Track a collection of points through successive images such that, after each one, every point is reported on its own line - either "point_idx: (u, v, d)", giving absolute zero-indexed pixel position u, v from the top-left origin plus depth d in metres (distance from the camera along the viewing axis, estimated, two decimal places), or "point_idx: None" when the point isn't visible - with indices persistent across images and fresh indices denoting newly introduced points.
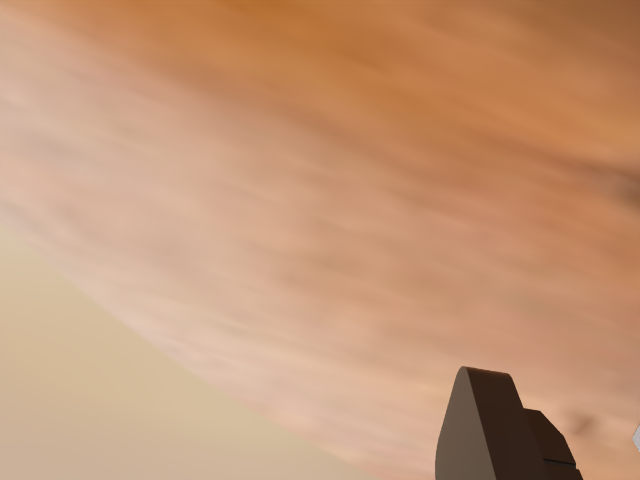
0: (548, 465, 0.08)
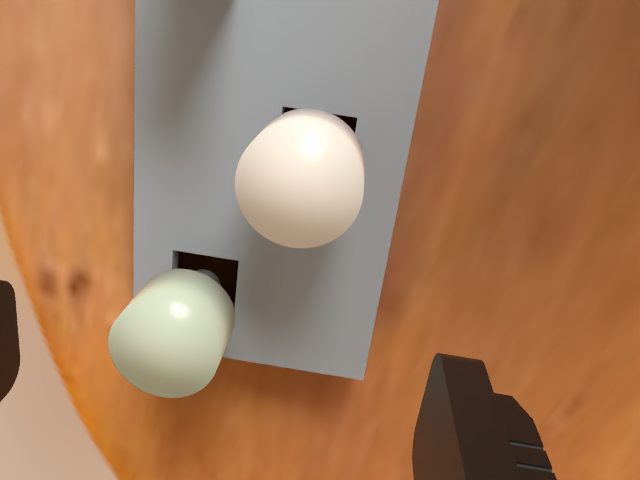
0: (516, 447, 0.08)
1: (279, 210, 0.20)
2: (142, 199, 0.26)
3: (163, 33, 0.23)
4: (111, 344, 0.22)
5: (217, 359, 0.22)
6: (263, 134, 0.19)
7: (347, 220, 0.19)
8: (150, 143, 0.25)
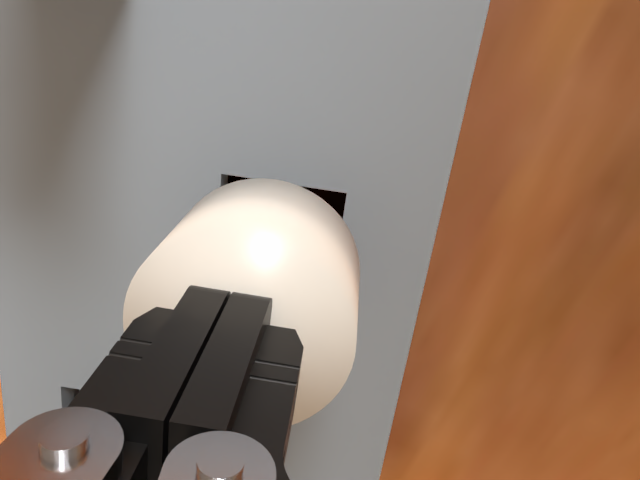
0: (273, 366, 0.09)
1: None
2: (6, 312, 0.16)
3: (13, 52, 0.14)
4: None
5: None
6: (168, 244, 0.10)
7: (327, 390, 0.11)
8: (10, 228, 0.15)
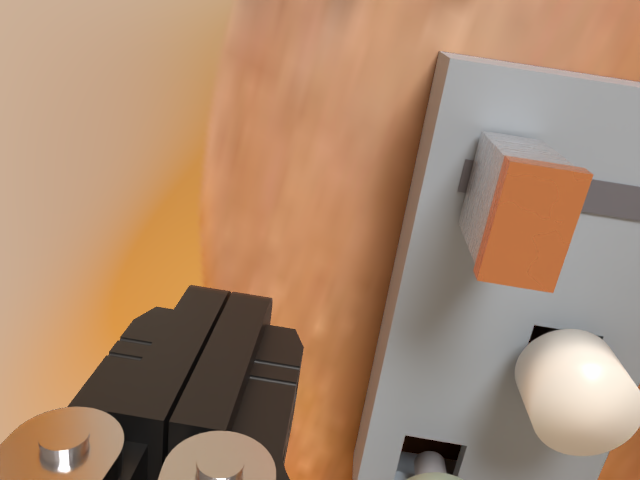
0: (273, 366, 0.09)
1: (566, 428, 0.23)
2: (384, 393, 0.28)
3: (432, 263, 0.25)
4: None
5: None
6: (566, 374, 0.22)
7: (624, 438, 0.23)
8: (402, 349, 0.27)
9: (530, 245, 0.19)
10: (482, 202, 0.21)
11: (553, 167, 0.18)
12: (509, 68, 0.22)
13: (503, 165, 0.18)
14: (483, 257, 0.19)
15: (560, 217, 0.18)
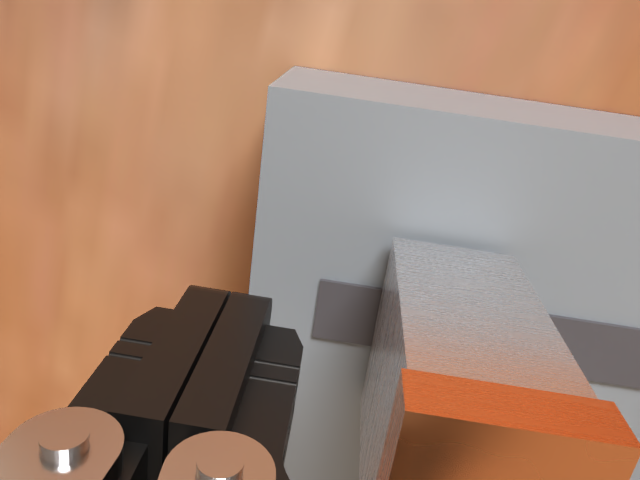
0: (273, 366, 0.09)
1: None
2: None
3: None
4: None
5: None
6: None
7: None
8: None
9: None
10: (377, 421, 0.09)
11: (528, 423, 0.06)
12: (391, 106, 0.11)
13: (397, 396, 0.07)
14: None
15: None
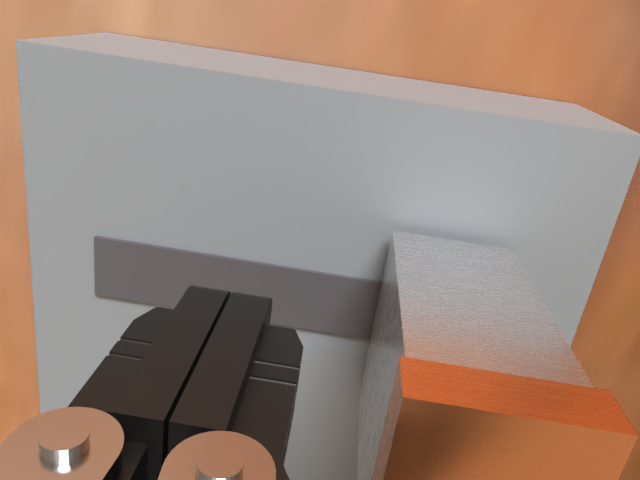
0: (273, 367, 0.09)
1: None
2: None
3: None
4: None
5: None
6: None
7: None
8: None
9: None
10: (376, 412, 0.09)
11: (525, 410, 0.06)
12: (135, 60, 0.11)
13: (395, 384, 0.07)
14: None
15: None
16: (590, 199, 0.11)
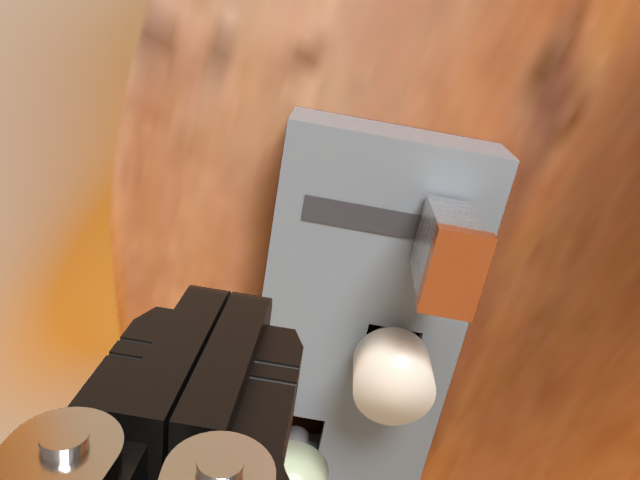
0: (273, 367, 0.09)
1: (380, 403, 0.30)
2: None
3: (286, 274, 0.32)
4: None
5: None
6: (375, 362, 0.29)
7: (423, 411, 0.30)
8: None
9: (454, 288, 0.25)
10: (423, 252, 0.27)
11: (470, 233, 0.25)
12: (332, 127, 0.29)
13: (435, 230, 0.25)
14: (421, 296, 0.26)
15: (475, 268, 0.25)
16: (500, 183, 0.29)
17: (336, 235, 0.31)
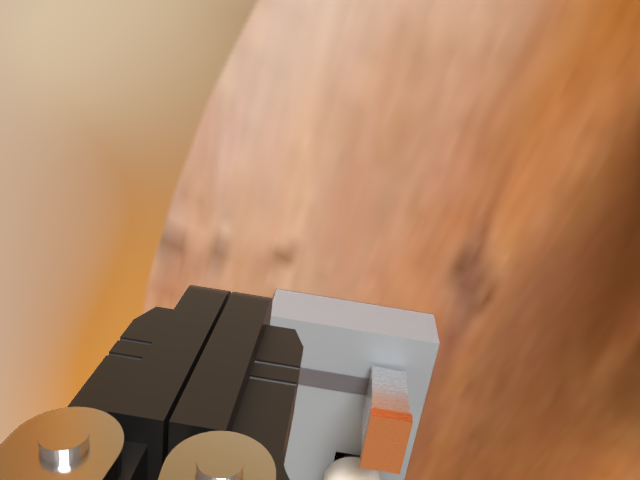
0: (273, 367, 0.09)
1: None
2: None
3: None
4: None
5: None
6: None
7: None
8: None
9: (385, 452, 0.36)
10: (366, 417, 0.38)
11: (393, 418, 0.35)
12: (300, 321, 0.39)
13: (370, 412, 0.35)
14: (362, 456, 0.36)
15: (398, 440, 0.35)
16: (426, 358, 0.39)
17: (307, 391, 0.41)
